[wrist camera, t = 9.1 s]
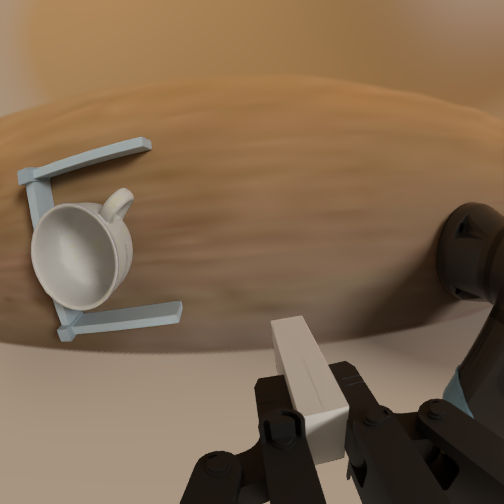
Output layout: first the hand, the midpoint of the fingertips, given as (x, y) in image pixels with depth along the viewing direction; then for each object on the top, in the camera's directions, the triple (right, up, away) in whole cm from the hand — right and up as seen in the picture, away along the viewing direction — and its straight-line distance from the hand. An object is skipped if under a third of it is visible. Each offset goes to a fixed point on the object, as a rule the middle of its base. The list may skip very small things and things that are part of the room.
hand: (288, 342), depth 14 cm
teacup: (-19, +6, +19) cm, 28 cm away
